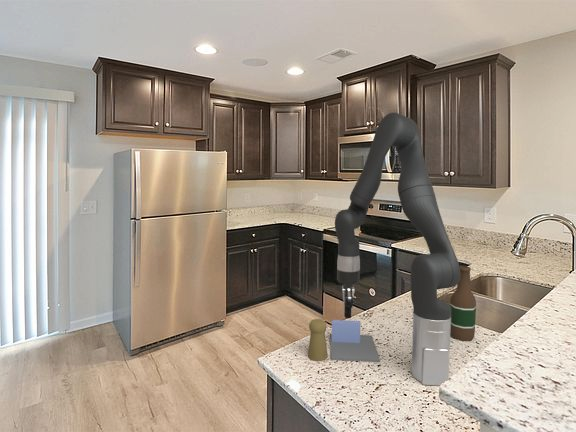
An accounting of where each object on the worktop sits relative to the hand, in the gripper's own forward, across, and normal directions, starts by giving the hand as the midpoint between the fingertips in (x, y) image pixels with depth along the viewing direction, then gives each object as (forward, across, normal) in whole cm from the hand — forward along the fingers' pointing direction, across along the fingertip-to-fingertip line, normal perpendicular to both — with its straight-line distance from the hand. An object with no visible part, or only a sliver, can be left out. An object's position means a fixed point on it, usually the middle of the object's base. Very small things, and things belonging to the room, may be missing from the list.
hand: (347, 317), depth 117 cm
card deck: (+5, -7, +1) cm, 9 cm away
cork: (+6, -16, +10) cm, 20 cm away
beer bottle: (+6, +1, -38) cm, 38 cm away
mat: (+6, -10, -1) cm, 12 cm away
